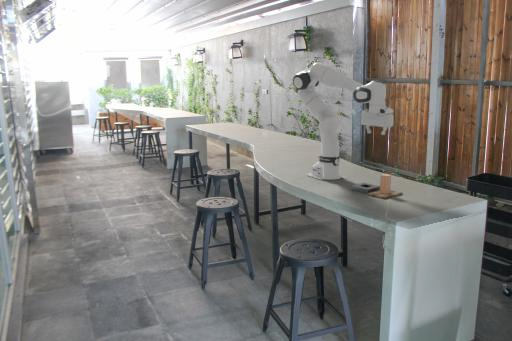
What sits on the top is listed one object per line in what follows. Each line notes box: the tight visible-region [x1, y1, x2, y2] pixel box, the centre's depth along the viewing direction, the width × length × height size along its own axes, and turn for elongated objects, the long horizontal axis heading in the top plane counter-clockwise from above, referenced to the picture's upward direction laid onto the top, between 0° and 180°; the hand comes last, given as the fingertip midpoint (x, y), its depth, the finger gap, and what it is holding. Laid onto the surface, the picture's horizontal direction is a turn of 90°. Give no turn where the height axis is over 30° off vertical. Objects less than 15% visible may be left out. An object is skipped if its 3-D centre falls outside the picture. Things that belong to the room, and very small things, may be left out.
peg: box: [379, 173, 392, 194], centre depth 251 cm, size 4×4×10 cm
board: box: [367, 189, 403, 200], centre depth 252 cm, size 11×16×1 cm
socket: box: [350, 182, 380, 195], centre depth 261 cm, size 11×11×2 cm
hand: (375, 133), depth 263 cm, fingers open, 8 cm apart
